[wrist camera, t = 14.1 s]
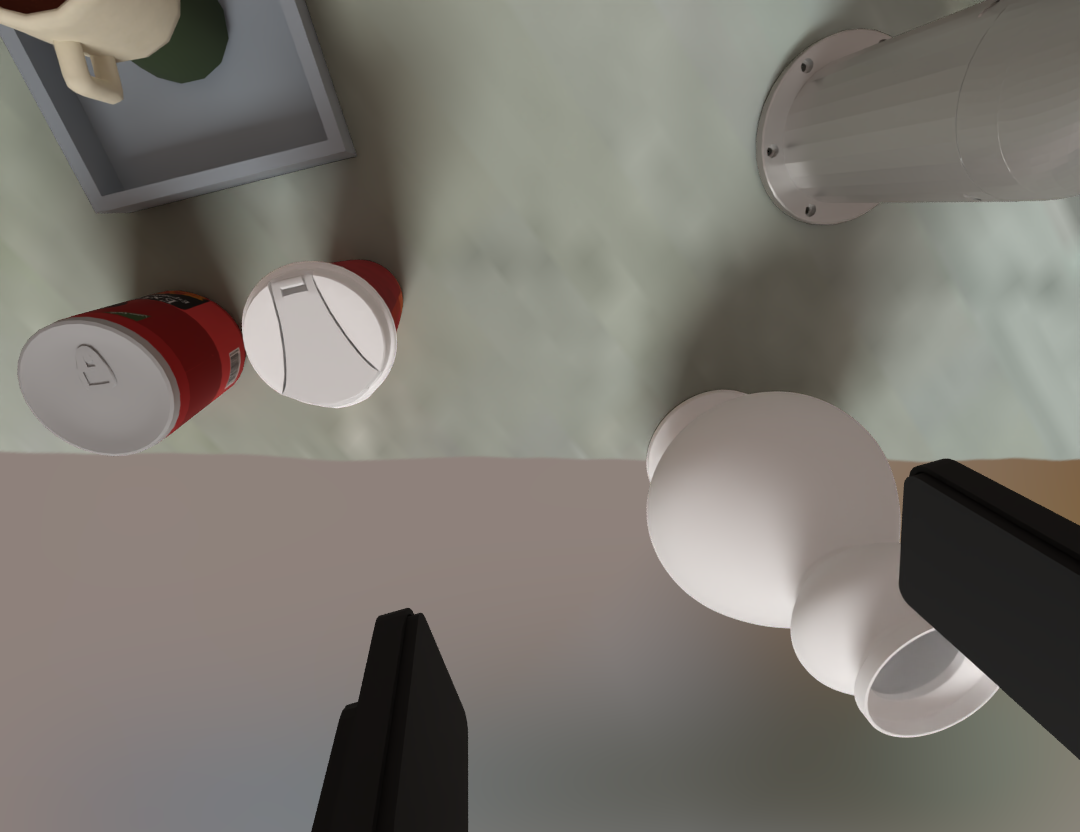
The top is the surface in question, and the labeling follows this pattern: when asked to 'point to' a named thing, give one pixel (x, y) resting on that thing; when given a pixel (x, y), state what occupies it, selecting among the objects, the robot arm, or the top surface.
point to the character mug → (124, 38)
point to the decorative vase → (804, 549)
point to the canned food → (130, 370)
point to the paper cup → (324, 330)
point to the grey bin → (197, 113)
